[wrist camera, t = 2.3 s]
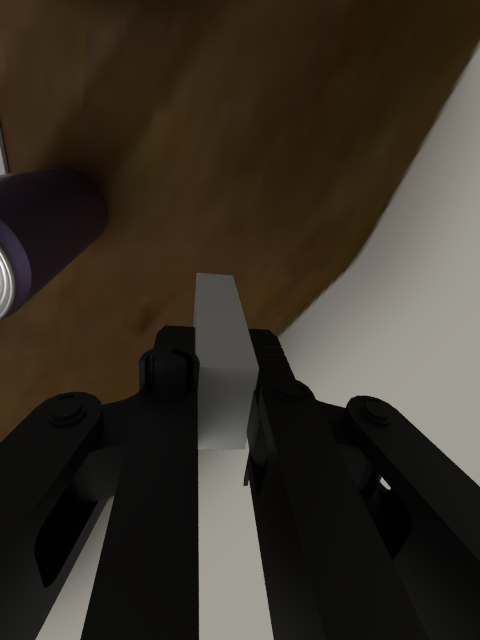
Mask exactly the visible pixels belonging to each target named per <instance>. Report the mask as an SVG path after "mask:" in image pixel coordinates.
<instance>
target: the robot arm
mask: <svg viewBox="0 0 480 640" xmlns="http://www.w3.org/2000/svg"><path fill="white" fill-rule="evenodd" d="M139 386H140V391H139V392H138V393H136V394H135V395H134V396H131V397H129V398H127V399H125V400H121V401H118V402H113V403H109V404H104V405H102V404H101V401H100V400H99V399H98V398H97V397H96V396H94V395H91V394H88V393H86V392H69V393H64V394H59V395H57V396H54V397H52V398H49V399H47V400H46V401H44V402H43V403H42V404H40V405H39V406H37V407H36V408H35V409H34V410H33V411H32V412H31V413H30V414H29V415H28V416H27V417H26V418H25V419H24V420H23V421H22V422H21V423H20V424H19V425H18V426H17V427H16V428H15V429H14V430H13V431H12V432H11V433H10V434H9V435H8V436H7V437H6V438H5V439H4V440H3V441H2V442H1V443H0V640H35V639H36V637H37V635H38V633H39V631H40V629H41V628H42V626H43V624H44V622H45V620H46V618H47V616H48V614H49V612H50V610H51V608H52V606H53V604H54V603H55V601H56V599H57V597H58V595H59V593H60V591H61V589H62V587H63V585H64V583H65V581H66V580H67V578H68V576H69V574H70V572H71V570H72V568H73V566H74V564H75V562H76V560H77V558H78V556H79V554H80V552H81V551H82V549H83V547H84V545H85V543H86V541H87V539H88V537H89V535H90V533H91V531H92V529H93V528H94V525H95V524H96V522H97V520H98V518H99V516H100V514H101V512H102V510H103V508H104V506H105V504H106V502H107V500H108V497H111V496H114V495H115V496H114V501H113V505H112V510H111V513H110V517H109V522H108V526H107V530H106V534H105V539H104V543H103V547H102V551H101V555H100V560H99V564H98V568H97V572H96V577H95V581H94V585H93V590H92V593H91V598H90V602H89V606H88V610H87V615H86V618H85V623H84V627H83V631H82V636H81V639H80V640H199V557H198V556H199V554H198V450H206V449H207V450H217V449H245V444H246V439H247V438H248V444H249V455H248V460H247V465H246V471H245V476H244V486H247V485H248V481H250V488H251V494H252V501H253V507H254V514H255V520H256V527H257V533H258V540H259V546H260V552H261V559H262V565H263V572H264V578H265V585H266V591H267V598H268V605H269V611H270V618H271V624H272V630H273V637H274V640H480V487H479V486H478V485H477V484H476V483H475V482H474V481H473V480H472V479H471V478H470V477H469V476H468V475H467V474H465V473H464V472H463V471H462V470H461V469H460V468H459V467H458V466H457V465H456V464H455V463H454V462H452V461H451V460H450V459H449V458H448V457H447V456H446V455H445V454H444V453H443V452H442V451H441V450H440V449H439V448H437V447H436V446H435V445H434V444H433V443H432V442H431V441H430V440H429V439H428V438H427V437H426V436H425V435H423V434H422V433H421V432H420V431H419V430H418V429H417V428H416V427H415V426H414V425H413V424H411V422H409V421H408V420H407V419H406V418H405V417H404V416H403V415H402V414H401V413H400V412H399V411H398V410H396V409H395V408H394V407H392V406H391V405H390V404H388V403H386V402H384V401H382V400H380V399H378V398H375V397H370V396H356V397H353V398H351V399H350V401H349V402H348V403H347V406H346V408H343V407H339V406H335V405H331V404H327V403H324V402H320V401H318V400H316V399H315V397H314V394H313V393H312V391H311V390H310V389H309V387H308V386H306V385H305V384H303V383H302V382H300V381H298V380H296V379H295V377H294V375H293V372H292V370H291V368H290V366H289V363H288V361H287V358H286V356H284V351H283V349H282V348H281V345H280V342H279V340H278V338H277V337H276V336H275V335H274V334H273V333H272V332H271V331H269V330H263V329H248V328H247V324H246V321H245V317H244V314H243V310H242V306H241V303H240V299H239V296H238V292H237V289H236V285H235V282H234V278H233V276H230V275H217V274H204V273H197V278H196V294H195V309H194V325H193V327H182V326H164V327H163V328H162V329H161V330H160V331H159V332H158V333H157V336H156V340H155V345H154V349H151V350H149V351H147V352H146V353H144V354H143V355H142V357H141V358H140V360H139ZM382 477H383V479H384V480H385V481H386V482H387V483H388V485H389V486H390V487H391V489H390V490H388V489H386V488H385V487H384V486H383V485H382V484H381V483H380V480H381V478H382Z"/></svg>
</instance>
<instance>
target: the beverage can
mask: <svg viewBox="0 0 480 640" xmlns="http://www.w3.org/2000/svg"><path fill="white" fill-rule="evenodd" d="M105 223H106V209H105V205H104V202H103V199H102V197H101V195H100V193H99V192H98V190H97V189H96V188H95V186H94V185H93V184H92V183H91V182H90V181H89V180H87V179H86V178H85V177H84V176H82V175H80V174H79V173H77V172H75V171H72V170H69V169H66V168H59V167H53V168H45V169H38V170H31V171H24V172H17V173H10V174H3V175H0V320H3V319H5V318H7V317H9V316H11V315H12V314H14V313H15V312H16V311H18V310H19V309H20V308H21V307H22V306H23V305H24V304H25V303H26V302H28V301H29V300H30V299H31V298H32V297H33V296H34V295H35V294H36V293H37V292H39V291H40V290H41V289H42V288H43V287H44V286H45V285H46V284H47V283H49V282H50V281H51V280H52V279H53V278H54V277H55V276H56V275H57V274H59V273H60V272H61V271H62V270H63V269H64V268H65V267H66V266H67V265H68V264H70V263H71V262H72V261H73V260H74V259H75V258H76V257H77V256H78V255H80V254H81V253H82V252H83V251H84V250H85V249H86V248H87V247H88V246H89V245H91V244H92V243H93V242H94V241H95V240H96V239H97V238H98V237H99V236H100V235H101V233H102V231H103V229H104V227H105Z"/></svg>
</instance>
